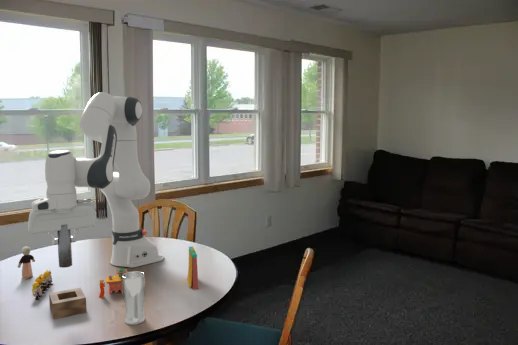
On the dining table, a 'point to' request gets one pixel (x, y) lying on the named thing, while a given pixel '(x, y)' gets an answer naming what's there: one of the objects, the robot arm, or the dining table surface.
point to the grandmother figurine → (26, 263)
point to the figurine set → (41, 284)
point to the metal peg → (64, 247)
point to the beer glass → (134, 296)
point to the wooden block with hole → (67, 303)
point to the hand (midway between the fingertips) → (64, 243)
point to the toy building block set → (116, 281)
